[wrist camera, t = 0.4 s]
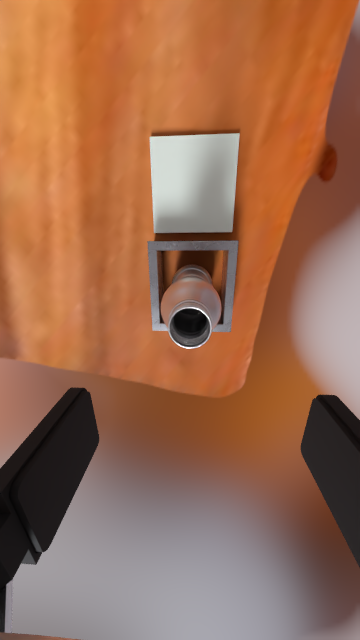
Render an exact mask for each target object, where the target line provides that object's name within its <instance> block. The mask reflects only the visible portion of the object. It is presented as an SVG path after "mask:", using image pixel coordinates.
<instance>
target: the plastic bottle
mask: <svg viewBox="0 0 360 640" xmlns="http://www.w3.org/2000/svg"><path fill="white" fill-rule="evenodd" d="M161 315H162V318H163V321H164V323H165V325H166V326H167V328H168V331H169V335H170V337H171V339H172V340H173V341H174V342H175V343H176V344H177V345H179V346H181V347H183V348H188V349H192V348H197V347H200V346H202V345H203V344H204V343H206V342H207V340H208V339H209V337H210V335H211V332H212V330H213V329H214V328H215V326H216V325H217V323H218V321H219V319H220V316H221V301H220V297H219V295H218V293H217V291H216V290H215V289H214V287H213V286H212V280H211V277H210V275H209V273H208V272H207V271H206V270H205V269H204V268H203V267H201V266H198V265H192V264H191V265H186V266H183V267H182V268H180V269H179V270H178V271H177V272H176V274H175V275H174V277H173V280H172V285H171V286H170V287H169V288H168V289H167V290H166V292H165V293H164V295H163V298H162V301H161Z"/></svg>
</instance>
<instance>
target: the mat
mask: <svg viewBox="0 0 360 640" xmlns="http://www.w3.org/2000/svg"><path fill="white" fill-rule="evenodd" d="M239 135H240V133H232V134H207V135H182V136H157V137H150V155H151V177H152V198H153V220H154V233H213V232H232V229H233V215H234V202H235V188H236V175H237V162H238V148H239Z"/></svg>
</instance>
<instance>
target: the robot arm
mask: <svg viewBox="0 0 360 640" xmlns="http://www.w3.org/2000/svg"><path fill="white" fill-rule="evenodd" d="M98 443H99V434H98V430H97V424H96V419H95V415H94V410H93V405H92V400H91V395H90V393H89V392H87V390H86V389H85V388H70V389H69V390H68V391H67V392H66V393H65V394H64V395H63V397H62V398H61V399H60V400H59V401H58V402H57V403H56V405H55V406H54V407H53V408H52V409H51V410H50V412H49V413H48V414H47V415H46V416H45V417H44V419H43V420H42V421H41V422H40V423H39V424H38V426H37V427H36V428H35V429H34V430H33V432H31V434H30V435H29V436H28V437H27V438H26V440H25V441H24V442H23V443H22V444H21V445H20V446H19V448H18V449H17V450H16V451H15V452H14V454H13V455H12V456H11V457H10V458H9V459H8V460H7V462H6V463H5V464H4V465H3V466H2V467H1V468H0V640H78V639H69V638H60V637H50V636H41V635H29V634H15V633H12V596H13V595H12V594H13V577H14V575H15V574H16V572H17V570H18V568H19V566H20V564H21V563H24V564H35V565H36V564H37V562H38V560H39V558H40V556H41V554H42V552H45V551H46V550H47V549H48V548H49V546H50V544H51V542H52V540H53V538H54V536H55V534H56V532H57V530H58V528H59V526H60V524H61V521H62V519H63V517H64V515H65V513H66V511H67V509H68V507H69V505H70V503H71V500H72V498H73V496H74V494H75V492H76V490H77V488H78V486H79V484H80V482H81V480H82V478H83V475H84V473H85V471H86V469H87V467H88V465H89V463H90V461H91V459H92V457H93V455H94V452H95V450H96V448H97V446H98ZM301 453H302V455H303V458H304V460H305V462H306V464H307V466H308V468H309V469H310V471H311V473H312V475H313V477H314V479H315V481H316V483H317V485H318V487H319V489H320V491H321V493H322V495H323V497H324V499H325V501H326V503H327V505H328V507H329V508H330V510H331V512H332V514H333V516H334V518H335V520H336V522H337V524H338V526H339V528H340V530H341V532H342V534H343V536H344V538H345V540H346V542H347V544H348V546H349V548H350V550H351V551H352V553H353V555H354V557H355V559H356V561H357V563H358V565H359V567H360V420H359V419H358V418H357V417H356V416H355V415H354V414H353V413H352V412H351V411H350V410H349V409H348V407H347V406H346V405H345V404H344V403H343V402H342V401H341V400H340V399H339V398H338V397H337V396H335V395H318V396H317V397H316V398H314V399H313V400H312V404H311V408H310V412H309V416H308V420H307V424H306V427H305V431H304V435H303V439H302V443H301Z"/></svg>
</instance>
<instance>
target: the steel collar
mask: <svg viewBox="0 0 360 640" xmlns="http://www.w3.org/2000/svg"><path fill="white" fill-rule="evenodd" d="M162 250H224V254H223V270H222V286H221V316H220V319H219V321H218V323H217V325H216V326H215V328H214V329H213V330H212V332H231V322H232V310H233V298H234V287H235V275H236V263H237V251H238V241H148V257H149V275H150V293H151V310H152V328H153V330H156V331H168V328H167V326H166V325H165V323H164V321H163V318H162V315H161V301H162V298H163V270H162Z"/></svg>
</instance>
